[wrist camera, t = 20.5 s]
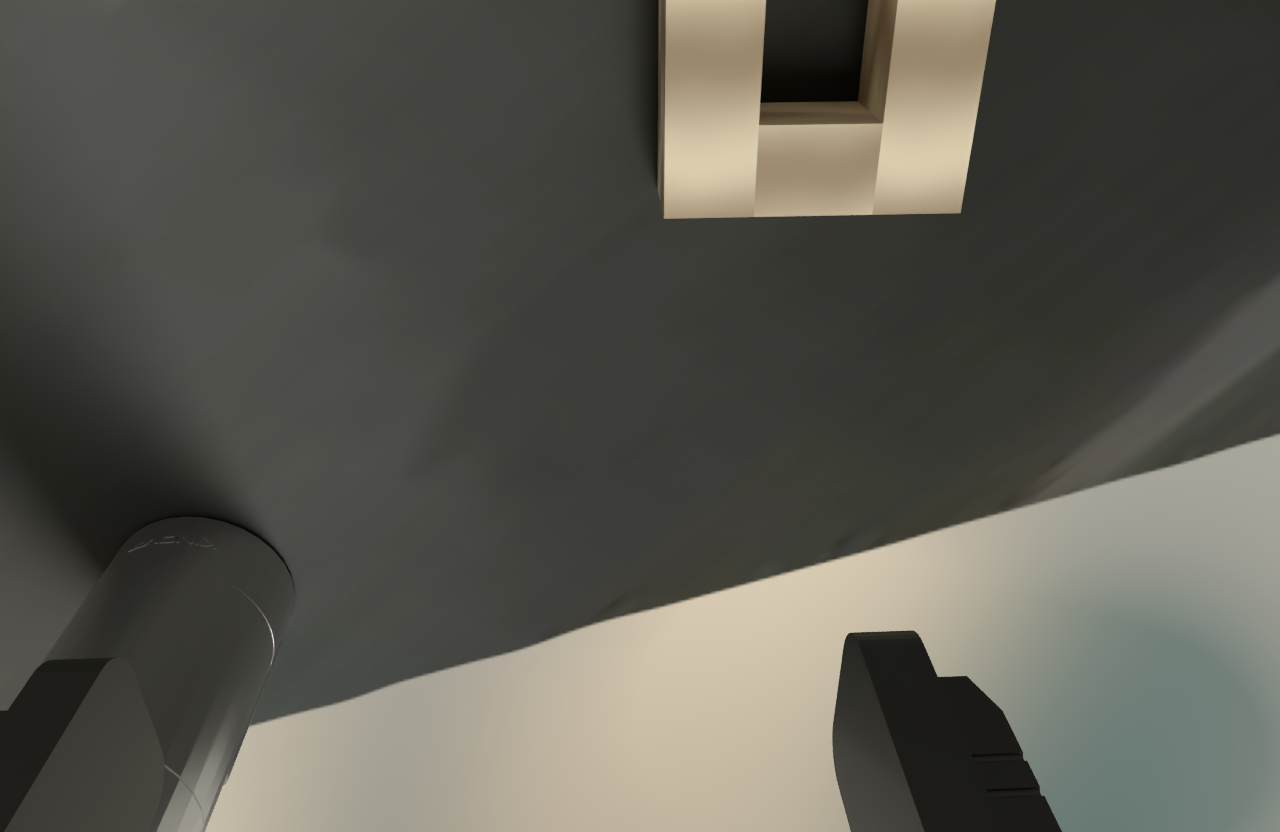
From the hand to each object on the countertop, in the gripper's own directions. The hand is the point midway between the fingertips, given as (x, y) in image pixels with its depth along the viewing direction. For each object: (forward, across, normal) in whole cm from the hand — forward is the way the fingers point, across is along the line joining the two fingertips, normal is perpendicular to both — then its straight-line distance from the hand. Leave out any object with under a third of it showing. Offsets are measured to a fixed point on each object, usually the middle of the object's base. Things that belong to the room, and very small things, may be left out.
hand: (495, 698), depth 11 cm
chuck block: (+33, -10, -2) cm, 35 cm away
